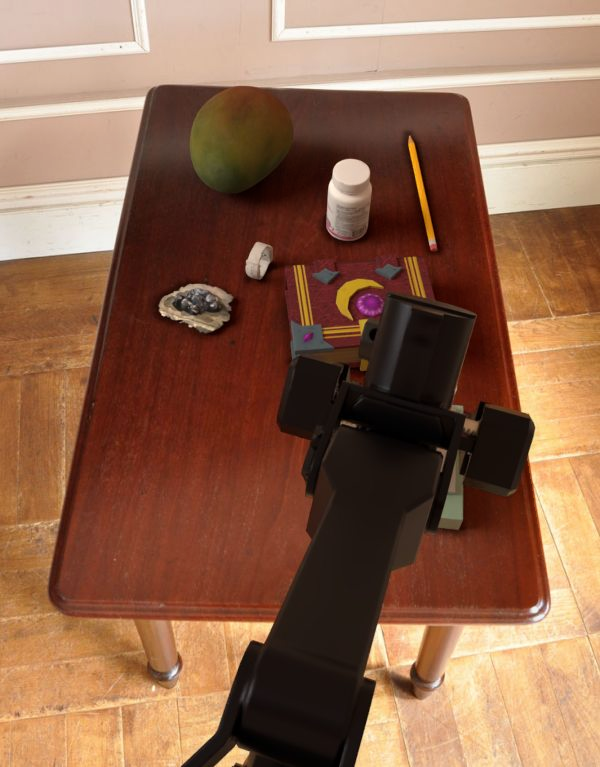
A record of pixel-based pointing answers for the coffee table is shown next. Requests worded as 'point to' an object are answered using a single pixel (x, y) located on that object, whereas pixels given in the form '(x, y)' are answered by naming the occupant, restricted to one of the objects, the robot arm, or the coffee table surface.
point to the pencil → (422, 195)
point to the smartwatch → (259, 260)
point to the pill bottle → (349, 200)
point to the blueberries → (198, 306)
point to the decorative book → (345, 301)
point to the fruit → (240, 138)
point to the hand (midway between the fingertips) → (410, 402)
